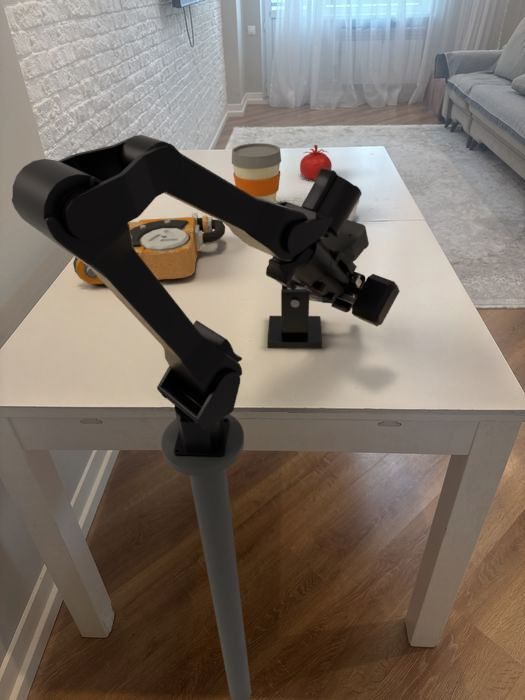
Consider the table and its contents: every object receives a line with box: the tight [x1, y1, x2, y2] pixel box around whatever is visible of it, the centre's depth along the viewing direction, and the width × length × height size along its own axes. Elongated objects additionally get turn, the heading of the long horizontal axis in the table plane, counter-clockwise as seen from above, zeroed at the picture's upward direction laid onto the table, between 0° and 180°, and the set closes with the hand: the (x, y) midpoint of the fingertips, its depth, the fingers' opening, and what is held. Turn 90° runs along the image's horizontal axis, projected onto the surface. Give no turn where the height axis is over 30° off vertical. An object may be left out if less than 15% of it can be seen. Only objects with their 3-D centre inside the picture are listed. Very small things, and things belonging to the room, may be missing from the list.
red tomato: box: [299, 144, 333, 181], centre depth 147 cm, size 10×10×9 cm
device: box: [72, 212, 226, 286], centre depth 105 cm, size 23×8×30 cm
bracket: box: [266, 282, 323, 349], centre depth 81 cm, size 9×8×10 cm
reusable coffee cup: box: [231, 142, 282, 203], centre depth 126 cm, size 13×13×15 cm
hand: (353, 301), depth 78 cm, fingers closed
